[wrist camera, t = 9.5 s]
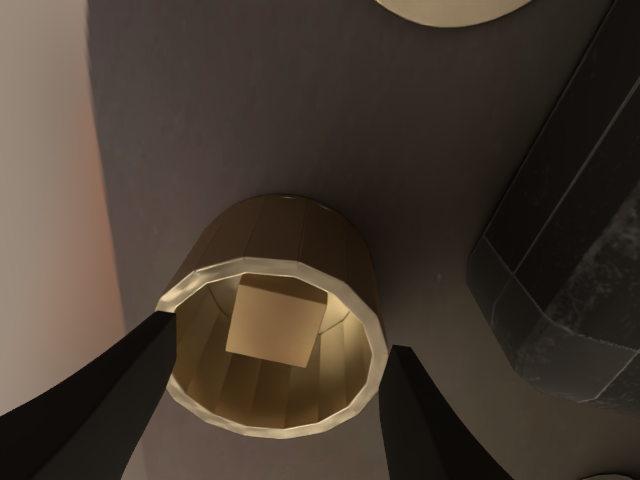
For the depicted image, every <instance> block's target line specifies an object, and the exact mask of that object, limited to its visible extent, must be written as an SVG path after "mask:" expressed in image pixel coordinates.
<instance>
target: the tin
mask: <svg viewBox="0 0 640 480" xmlns="http://www.w3.org/2000/svg"><path fill="white" fill-rule="evenodd" d="M245 273H253V274H265V275H276V276H288V277H295V278H297V279H300V280H302V281H304V282H306V283H308V284H311V285H313V286H315V287H317V288H320V289H322V290H324V291H326V292H328V305H327V308H326V311H325V314H324V317H323V320H322V323H321V326H320V329H319V332H318V335H317V337H316V340H315V343H314V346H313V349H312V352H311V355H310V358H309V361H308V364H307V367H306V368H303V367H298V366H294V365H289V364H284V363H280V362H275V361H270V360H266V359H261V358H256V357H252V356H247V355H242V354H238V353H233V352H228V351H226V350H225V348H226V343H227V338H228V333H229V328H230V323H231V318H232V313H233V308H234V303H235V298H236V293H237V288H238V284H239V281H240V279H241V276H242V274H245ZM157 310H160V311H166V312H173V313H176V330H177V360H176V363H175V365H174V368H173V371H172V374H171V376H170V379H169V381H168V384H167V387H166V389H167V390H168V391H169V393H170V394H171V396H172V397H173V398H174V400H175V401H177V402H178V403H180V404H181V405H182V406H184V407H185V408H187V409H188V410H189V411H191V412H192V413H194V414H195V415H197V416H198V417H199V418H201V419H202V420H204V421H205V422H207V423H210V424H213V425H216V426H219V427H222V428H225V429H227V430H230V431H233V432H236V433H239V434H242V435H245V436H256V437H268V438H280V439H286V438H293V437H298V436H304V435H309V434H315V433H320V432H324V431H327V430H329V429H331V428H333V427H335V426H337V425H338V424H340V423H342V422H344V421H346V420H348V419H350V418H352V417H354V416H356V415H357V414H358V413H360V411H361V410H362V409H363V408H364V407H365V406H366V404H367V403H368V402H369V401H370V400H371V398H372V397H373V396H374V395H375V394H376V393H377V391H378V390H379V384H380V381H381V378H382V376H383V373H384V370H385V367H386V364H387V360H388V356H389V349H388V343H387V338H386V332H385V327H384V321H383V316H382V310H381V305H380V299H379V294H378V288H377V283H376V277H375V272H374V269H373V265H372V262H371V258H370V254H369V251H368V248H367V245H366V244H365V242H364V240H363V239H362V237H361V235H360V234H359V233H358V231H357V230H356V229H355V227H354V226H353V225H352V224H351V223H350V222H349V221H348V220H347V219H346V218H344V217H343V216H342V215H341V214H339V213H338V212H337V211H335V210H333V209H331V208H330V207H328V206H326V205H324V204H322V203H319V202H317V201H315V200H312V199H308V198H304V197H301V196H294V195H283V194H274V195H263V196H259V197H254V198H250V199H248V200H245V201H242V202H240V203H238V204H236V205H234V206H232V207H230V208H229V209H227V210H226V211H224V212H223V213H222V214H220V215H219V216H218V217H217V218H216V219H215V220H214V221H213V222H212V223H211V224H210V225H209V226H208V227H207V228H206V229H205V230H204V232H203V233H202V235H201V236H200V238H199V239H198V241H197V242H196V244H195V245H194V247H193V248H192V250H191V251H190V253H189V254H188V256H187V257H186V259H185V261H184V262H183V264H182V265H181V267H180V268H179V270H178V271H177V273H176V274H175V276H174V277H173V279H172V280H171V282H170V283H169V285H168V286H167V288H166V289H165V291H164V292H163V294H162V295H161V297H160V299H159V301H158V304H157V306H156V309H155V311H154V312H156V311H157Z"/></svg>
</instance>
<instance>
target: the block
mask: <svg viewBox="0 0 640 480" xmlns="http://www.w3.org/2000/svg"><path fill="white" fill-rule="evenodd" d="M327 305H328V292H326V291H324V290H322V289H320V288H317V287H315V286H313V285H311V284H308V283H306V282H304V281H302V280H300V279H297V278H295V277H288V276H276V275H265V274H253V273H245V274H242V276H241V279H240V281H239V284H238V288H237V293H236V298H235V303H234V308H233V313H232V318H231V323H230V328H229V333H228V338H227V343H226V348H225V350H226V351H228V352H233V353H238V354H242V355H247V356H252V357H256V358H261V359H266V360H270V361H275V362H280V363H284V364H289V365H294V366H298V367H303V368H306V367H307V364H308V361H309V358H310V355H311V352H312V349H313V346H314V343H315V340H316V337H317V335H318V332H319V329H320V326H321V323H322V320H323V317H324V314H325V311H326V308H327Z"/></svg>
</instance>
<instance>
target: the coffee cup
mask: <svg viewBox="0 0 640 480" xmlns="http://www.w3.org/2000/svg"><path fill="white" fill-rule="evenodd" d="M582 480H633V479H631V478H630V477H626V476H621V475H617V474H610V475H597V476H593V477H589V478H586V479H582Z"/></svg>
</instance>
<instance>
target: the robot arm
mask: <svg viewBox="0 0 640 480" xmlns="http://www.w3.org/2000/svg"><path fill="white" fill-rule="evenodd" d="M176 360H177V330H176V313H173V312H166V311H160V310H157V311H156V312H154V313H153V314H152V315H150V316H149V317H148V318H147V319H146V320H144V321H143V322H142V323H141V324H140V325H138V326H137V327H136V328H135V329H133V330H132V331H131V332H130V333H128V334H127V335H126V336H125V337H124V338H122V339H121V340H120V341H119V342H117V343H116V344H115V345H113V346H112V347H111V348H109V349H108V350H107V351H106V352H104V353H103V354H101V355H100V356H99V357H97V358H96V359H94V360H93V361H92V362H90V363H89V364H87V365H86V366H85V367H83V368H82V369H80V370H79V371H77V372H76V373H74V374H73V375H71V376H70V377H68V378H67V379H65V380H64V381H62V382H61V383H59V384H58V385H56V386H54V387H53V388H51V389H49V390H48V391H46V392H44V393H43V394H41V395H39V396H38V397H36V398H34V399H32V400H30V401H29V402H27V403H25V404H23V405H21V406H19V407H17V408H15V409H13V410H12V411H10V412H8V413H6V414H4V415H2V416H0V480H121V477H122V475H123V472H124V470H125V468H126V465H127V463H128V461H129V459H130V457H131V455H132V453H133V451H134V449H135V447H136V445H137V443H138V441H139V440H140V438H141V436H142V434H143V432H144V430H145V428H146V426H147V424H148V422H149V420H150V418H151V416H152V415H153V413H154V411H155V409H156V407H157V405H158V403H159V401H160V399H161V397H162V395H163V393H164V391H165V389H166V387H167V384H168V381H169V379H170V376H171V374H172V371H173V368H174V365H175V363H176ZM379 411H380V422H381V428H382V434H383V440H384V446H385V452H386V458H387V464H388V470H389V476H390V480H514V479H513V478H512V477H511V476H510V475H509V474H508V473H507V472H506V471H505V470H504V469H503V468H502V467H501V466H500V465H499V464H498V463H497V462H496V461H495V460H494V459H493V458H492V457H491V455H490V454H489V453H488V452H487V451H486V450H485V449H484V448H483V446H482V445H481V444H480V443H479V442H478V441H477V440H476V439H475V437H474V436H473V435H472V434H471V433H470V431H469V430H468V429H467V428H466V426H465V425H464V424H463V423H462V421H461V420H460V419H459V417H458V416H457V415H456V414H455V412H454V411H453V409H452V408H451V407H450V405H449V404H448V403H447V401H446V400H445V398H444V397H443V395H442V394H441V393H440V391H439V390H438V388H437V387H436V385H435V384H434V382H433V381H432V379H431V378H430V376H429V375H428V373H427V372H426V370H425V368H424V367H423V365H422V364H421V362H420V361H419V359H418V358H417V356H416V354H415V353H414V351H413V350H412V348H411V347H406V346H399V345H393V346H392V349H391V352H390V355H389V358H388V361H387V364H386V367H385V370H384V373H383V376H382V378H381V381H380V384H379Z"/></svg>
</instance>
